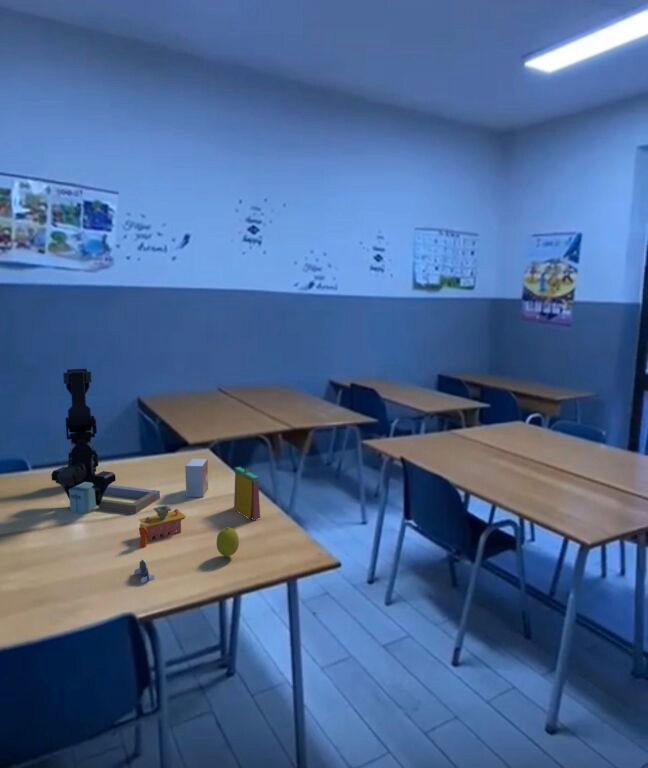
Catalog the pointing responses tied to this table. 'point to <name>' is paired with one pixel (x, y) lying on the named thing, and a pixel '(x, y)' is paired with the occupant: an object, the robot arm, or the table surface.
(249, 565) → the table surface
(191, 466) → the small box
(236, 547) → the lemon
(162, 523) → the toy shop counter set
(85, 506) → the blue block with grip
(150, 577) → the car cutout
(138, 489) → the u-shaped bar frame
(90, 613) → the table surface
